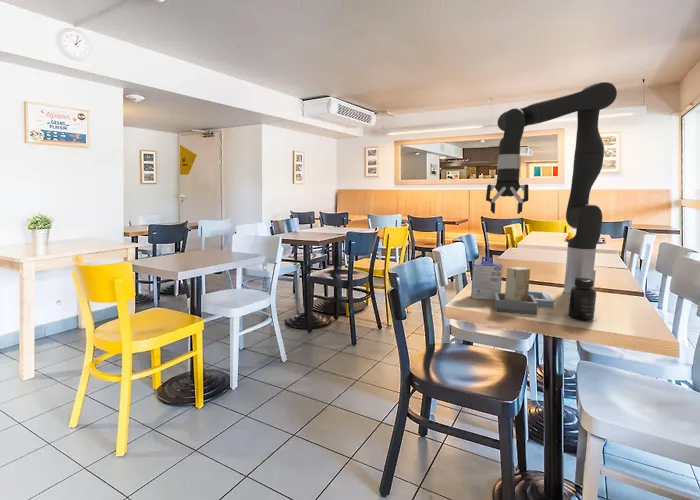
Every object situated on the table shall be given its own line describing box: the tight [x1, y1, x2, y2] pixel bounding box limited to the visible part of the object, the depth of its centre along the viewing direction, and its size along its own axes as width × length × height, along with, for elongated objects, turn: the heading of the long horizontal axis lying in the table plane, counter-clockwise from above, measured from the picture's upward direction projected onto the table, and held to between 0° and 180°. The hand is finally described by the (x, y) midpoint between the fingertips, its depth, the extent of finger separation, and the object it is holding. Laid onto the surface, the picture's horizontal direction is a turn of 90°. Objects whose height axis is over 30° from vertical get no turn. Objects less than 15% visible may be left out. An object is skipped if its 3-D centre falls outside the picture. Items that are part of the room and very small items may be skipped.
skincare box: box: [504, 266, 531, 302], centre depth 132 cm, size 6×4×12 cm
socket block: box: [528, 290, 555, 308], centre depth 143 cm, size 13×14×2 cm
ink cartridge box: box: [470, 256, 503, 301], centre depth 145 cm, size 10×6×14 cm, turn 79°
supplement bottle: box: [567, 278, 597, 322], centre depth 122 cm, size 7×7×12 cm
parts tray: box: [493, 292, 539, 315], centre depth 133 cm, size 12×11×4 cm
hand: (505, 213), depth 149 cm, fingers open, 8 cm apart
